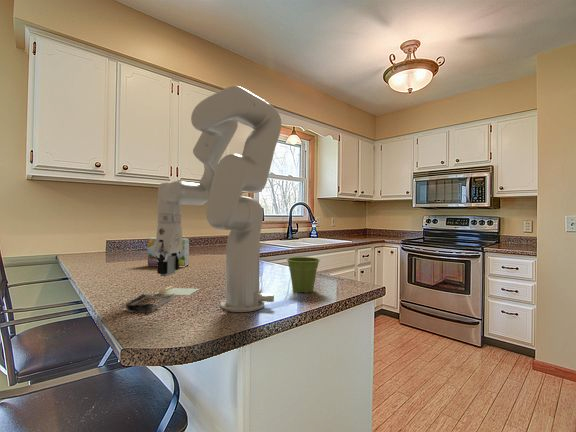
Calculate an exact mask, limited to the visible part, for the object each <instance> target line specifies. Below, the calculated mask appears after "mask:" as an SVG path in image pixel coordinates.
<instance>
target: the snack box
mask: <svg viewBox="0 0 576 432" xmlns="http://www.w3.org/2000/svg"><path fill="white" fill-rule="evenodd" d="M155 249H156V237H148V238H147V266H148V265H158V262H157V258H156V255H155V253H154V250H155ZM168 256H170V254H169V253H168ZM179 256H180V257H179V258H178V259H179V266H186V265H189V264H190V263H189V262H190V261H189V259H190V239H189V238H183V237H182V250H181V251H180V254H179ZM163 257H164V255H163Z"/></svg>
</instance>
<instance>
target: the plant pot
mask: <svg viewBox="0 0 576 432" xmlns="http://www.w3.org/2000/svg"><path fill="white" fill-rule="evenodd" d="M286 261H287V263H288V267H289V272H290V279H291V287H292V291H294V292H295V293H298V292H299V293H298V294H300V293H304V294H306V293H307V294H308V292H309V293H312V292H314V288H315V281H316V277H317V276H316V275H317V271H318V270H317V269H318V266H319V263H320V261H321V259H320V258H316V257H312V256H311V257H307V256H293V257H288V258H286Z"/></svg>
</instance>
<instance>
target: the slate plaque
mask: <svg viewBox="0 0 576 432" xmlns="http://www.w3.org/2000/svg"><path fill="white" fill-rule="evenodd" d="M166 262H168V268H167V274H160V277H167V276H170V275H173V274H175V273H176V270H175V264H176V256H168V257H167V260H166Z"/></svg>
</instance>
